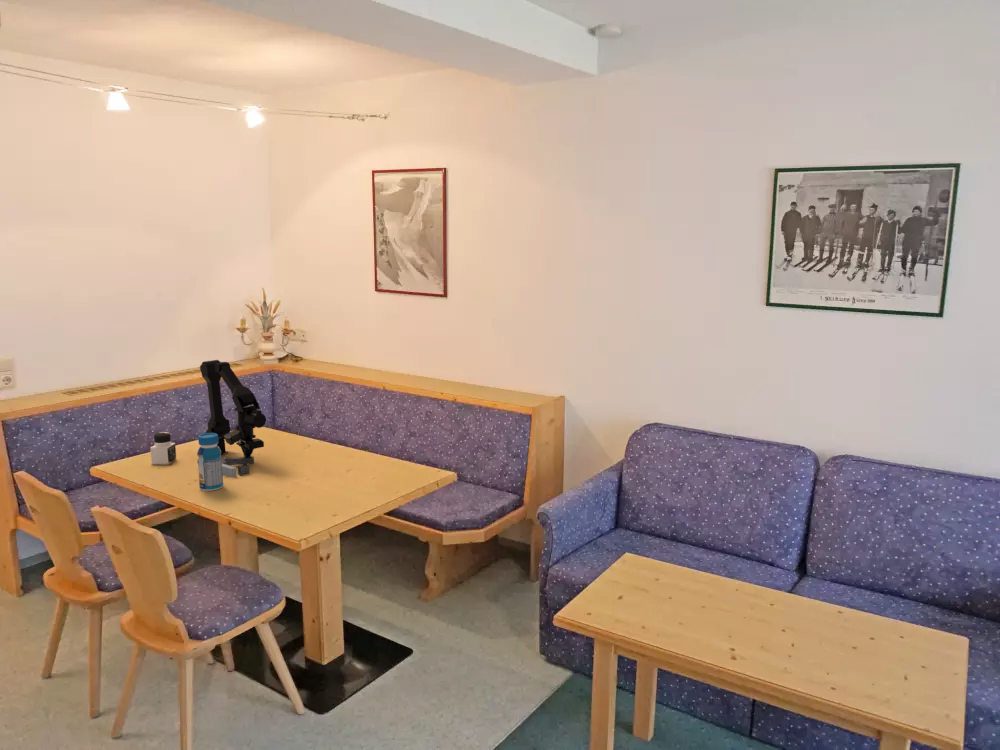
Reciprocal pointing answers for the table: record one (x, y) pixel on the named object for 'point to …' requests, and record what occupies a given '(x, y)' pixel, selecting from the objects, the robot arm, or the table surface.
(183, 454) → the table surface
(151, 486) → the table surface
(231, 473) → the door board
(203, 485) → the beverage bottle
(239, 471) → the grey square block
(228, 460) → the lock bar
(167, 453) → the medicine bottle
